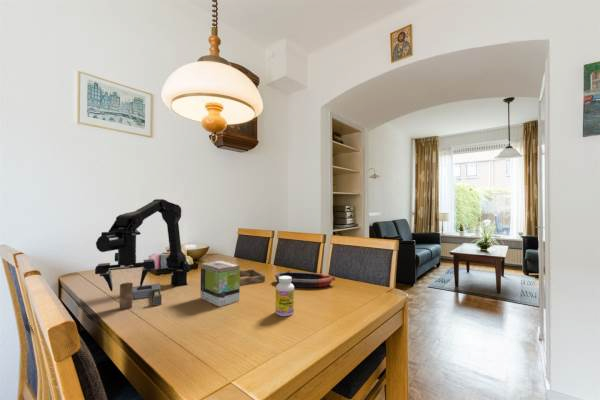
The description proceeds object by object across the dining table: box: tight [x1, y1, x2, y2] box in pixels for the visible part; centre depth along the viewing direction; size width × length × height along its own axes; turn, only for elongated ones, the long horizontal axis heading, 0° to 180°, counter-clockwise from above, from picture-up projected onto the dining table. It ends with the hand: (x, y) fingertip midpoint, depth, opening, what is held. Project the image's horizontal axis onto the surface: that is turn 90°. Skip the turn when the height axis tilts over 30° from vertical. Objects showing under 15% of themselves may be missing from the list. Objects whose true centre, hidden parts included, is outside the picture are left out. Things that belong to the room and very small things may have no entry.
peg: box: [119, 282, 134, 311], centre depth 102 cm, size 4×4×9 cm
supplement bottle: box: [275, 276, 295, 317], centre depth 97 cm, size 7×7×13 cm
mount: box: [132, 283, 162, 301], centre depth 117 cm, size 12×9×3 cm
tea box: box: [199, 260, 241, 307], centre depth 111 cm, size 15×10×15 cm, turn 47°
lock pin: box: [152, 290, 163, 306], centre depth 109 cm, size 3×12×3 cm, turn 30°
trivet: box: [240, 268, 266, 286], centre depth 141 cm, size 17×17×3 cm
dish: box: [274, 270, 336, 289], centre depth 134 cm, size 16×31×5 cm, turn 75°
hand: (126, 289), depth 102 cm, fingers open, 9 cm apart
